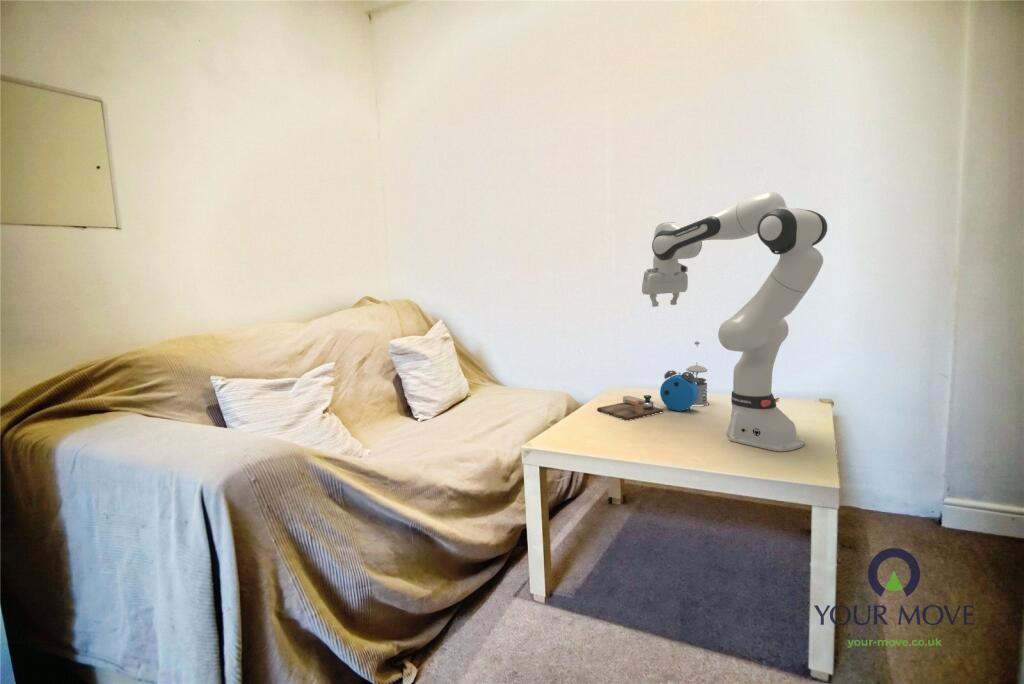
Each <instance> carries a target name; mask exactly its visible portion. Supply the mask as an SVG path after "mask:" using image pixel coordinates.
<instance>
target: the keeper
mask: <svg viewBox="0 0 1024 684" xmlns="http://www.w3.org/2000/svg"><path fill="white" fill-rule="evenodd" d="M625 402H626V403H630V404H633V405H635V413H637V414H642V413H643V405H644V401H641V400H637V399H634V398H628V399H625Z"/></svg>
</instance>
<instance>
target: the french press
mask: <svg viewBox="0 0 1024 684" xmlns="http://www.w3.org/2000/svg"><path fill="white" fill-rule="evenodd" d="M700 344H701V343H700V342H699V341H698V340H697V341H694V345H696V346H698V345H700ZM686 372H690V373H692V374H693V375H694V377H695V380H694V382H695V383H696V384H697V387H698V390H699V396H698V399H697V401H696V402H695V404H693V405H707V404H708V403H709V401H708V383H707V382H706V381H707V379H706V378H703V377H698V374H699V373H700V374H701V373H707V372H708V369H707V368H706V367H704V366H703V365H698V363H696V365H691V366H688V367H687V368H686ZM707 406H708V405H707Z"/></svg>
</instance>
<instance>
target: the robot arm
mask: <svg viewBox="0 0 1024 684" xmlns="http://www.w3.org/2000/svg"><path fill="white" fill-rule="evenodd" d="M785 201H786V200H784V198H783V197H782V195H780V194H779V193H777V192H774V191H769V192H768V191H767V192H763V193H759V194H756V195H753V196H750V197H747V198H745V199H743V200H741V201H739V202H737V203H735V204H732V205H731V206H729V207H727V208H726V207H725V208H724V209H722V210H721V211H718V212H715V213H714V214H711V215H710V216H707V217H706V218H703V219H701V220H697V221H695V222H692V223H691V224H688V225H686V226H683V227H682V226H680V224H679V223H677V222H674V221H671V222H670V221H668V222H663V223H660V224H658V225H657V226H655V230H654V233H653V234H654V235H653V241H652V243H651V249H652V252H653V255H654V256H653V260H652V268H647V269H646V270H645V271H644V272H643V278H642V283H641V284H642V285H641V292H642V294H643V295H645V296H646V295H649V298H650V300H651V307H653V308H655V307H657V308H658V307H659V301H658V300H657V296H658V295H665V294H672V298H671V300H670V303H669V304H670V305H671V306H675V305H677V303H678V298H679V297H680V293H686V291H687V290H688V287H689V286H688V284H689V279H688V278H689V275H688V272H689V267H688V266H687V265H685V264H683V263H680V262H679V260H685V259H688V260H689V259H693V258H696V257H697V256H698V255H699V254H700V252H701V250H702V247H703V241H711V240H716V241H717V240H721V241H722V240H725V241H727V240H730V241H731V240H732V241H733V240H740V239H745V238H748V237H752V236H754V235H757V236H758V238H759V240H760V241H761V242H762V243H763V244H764V245H765V246H766V247H768V249H769V250H770V252H771V253H772V254H774V255H779V259H778V261H777V263H776V265H775V266H774V267H773V269H772V271H771V272H770V273H769V275H768V276H767V277H766V279H765V281H764V282H763V284H762V285H761V286H760V288H759V290H758V291H757V292H756V293H755V295H754V296H752V298H750V299H749V300H748V301H747V303H746V304H744V305H743V306H742V308H740V309H739V310H738V311H737V312H736V313H735V314H734V315H732V316H731V317H729V318H728V319H727V320H725V321H723V322H722V323H721V324H720V326H719V328H718V332H717V333H718V334H717V335H718V340H719V343H720V345H721V346H722V347H723V348H725V349H726V350H729V351H734V352H739V353H742V354H741V356H740V358H739V360H738V361H737V363H736V364H735V366H734V367H733V380H732V381H733V384H732V391H731V399H730V400H731V401H730V402H731V406H732V407H731V414H730V415H731V416H730V420H729V424H728V429H727V431H726V434H727V436H728V437H729V441H731V442H735V443H738V444H741V445H742V444H743V445H748V446H750V447H751V446H753V447H757V448H761V449H765V450H769V451H774V452H788V451H794V450H798V449H799V448H802V447H804V445H805V444H806V443H805V439H803V438H801V437H798V435H797V429H796V425H795V423H794V421H793V420H791V419H790V418H789V417H788V415H786V414H785V413H784V412H782V410H780V409H779V408H778V406H777V403H778V402H779V400H780V397H776V398H775V396H774V394H773V393H772V384H773V370H774V366H775V363H776V358H777V356H778V353H779V350H780V348H781V346H782V344H783V342H784V341H785V340H786V339H787V338H788V335H789V331H790V329H789V324H788V322H787V320H786V319H785V318H786V317H787V316H789V315H790V314H792V312H793V311H795V309H796V307H797V306H798V305H799V304H800V302H801V300H802V299H803V298H804V296H805V295H806V294H807V293H808V291H809V289H811V287H812V286H813V283H814V282H815V280H816V278H817V276H818V275H819V273H820V271H821V268H822V266H823V264H824V256H823V254H822V253H821V251H819V250H818V249H817V248H816V247H814V246H815V245H817V244H819V243H820V242H822V240H824V238H825V237H826V235H827V232H828V222H827V219H826V218H825V217H824V216H823V215H822V214H821V213H818V212H817V211H814V210H810V209H804V208H798V207H797V208H789V207H787V204H786V202H785Z"/></svg>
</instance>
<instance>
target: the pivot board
mask: <svg viewBox="0 0 1024 684" xmlns="http://www.w3.org/2000/svg"><path fill="white" fill-rule="evenodd" d="M596 411H597V412H599V411H600V413H602V412H603V413H602V414H605V413H606V415H608V414H609V415H608V416H611V415H612V417H614V416H615V417H614V418H617V417H618V418H617V419H620V418H622V419H621V420H623V419H624V421H626V420H628V421H631V420H630V419H633V420H635V418H637V419H640V418H639V417H641V418H644V417H643V416H646V417H648V416H647V415H650V416H653V415H652V414H654V415H656V414H655V413H658V414H661V413H660V412H663V413H664V409H663V408H661V407H660V408H659V407H655V406H654V408H652V409H644V408H643V413H642V414H637V413H635V405H633V404H629V403H626V402H623V401H622V402H620V403H616V404H615V403H614V404H611V405H606V406H601V407H597V409H596Z"/></svg>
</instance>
